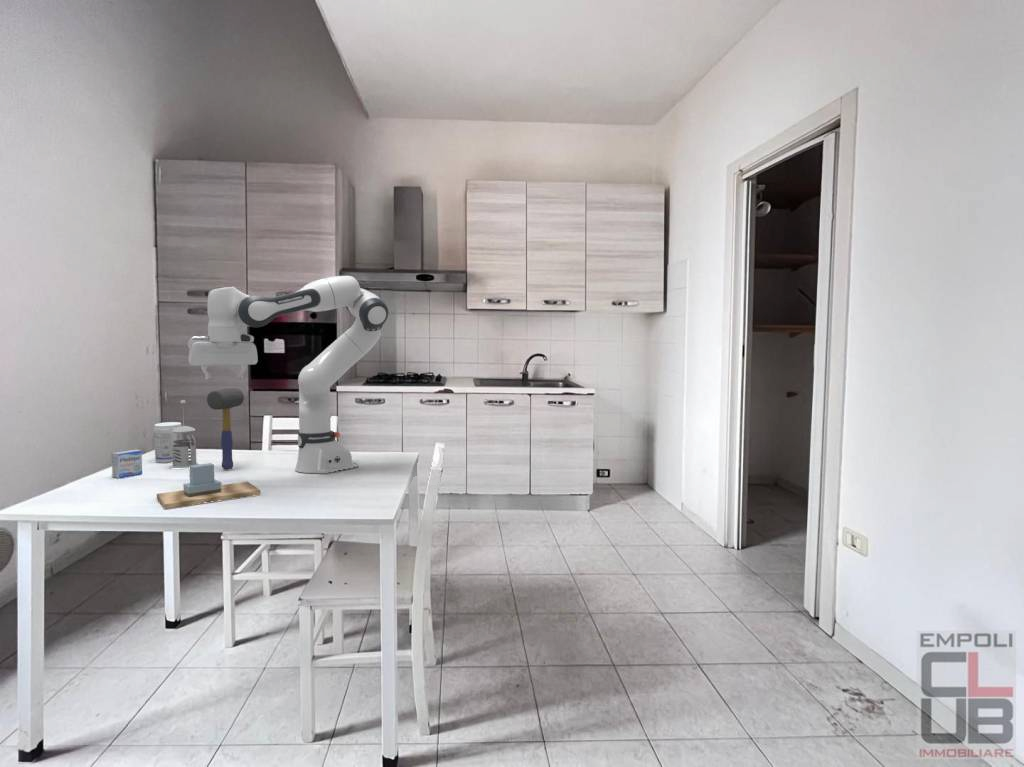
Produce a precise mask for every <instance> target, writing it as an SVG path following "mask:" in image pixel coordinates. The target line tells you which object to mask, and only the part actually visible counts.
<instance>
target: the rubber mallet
mask: <svg viewBox="0 0 1024 767" xmlns="http://www.w3.org/2000/svg"><path fill="white" fill-rule="evenodd" d="M206 397H207V398H206V402H207V404H208V407H209V408H211V409H212V410H216V411H217V410H218V411H219V410H222V430H221V437H220V438H221V440H220V443H221V444H220V446H221V452H222V453H221V457H222V458H221V459H222V460H221V468H222V469H223V470H224V471H230V470H233V467H234V461H233V446H234V445H233V444H234V443H233V442H234V441H233V433H232V432H233V431H232V428H231V409H232V408H235V407H239V406H241V405H242V404H243V402H244V400H245V395H244V393H243V391H242V390H241V389H239V388H236V387H228V388H227V387H224V388H220V389H215V390H212V391H210V392H209V393H208V395H207V396H206ZM229 469H230V470H229Z"/></svg>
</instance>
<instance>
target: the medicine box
mask: <svg viewBox="0 0 1024 767" xmlns="http://www.w3.org/2000/svg"><path fill="white" fill-rule="evenodd" d="M142 451H143V450H140V449H130V450H122V451H116V452H111V472H112V473H111V475H112V477H113V478H116V479H119V478H120V479H125V477H126V478H131V477H135V475H136V476H141V475H140V474H142V475H143V456H142V455H143V453H142ZM130 476H131V477H130Z"/></svg>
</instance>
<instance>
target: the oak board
mask: <svg viewBox="0 0 1024 767" xmlns="http://www.w3.org/2000/svg"><path fill="white" fill-rule="evenodd" d="M260 494H262V491H261V489H260V488H258V487H256V486H255V485H254V484H253V483H250V482H249V481H241V482H235V483H234V482H233V483H225V484H221V492H217V493H211V494H205V495H199V496H193V497H188V496H187V495H185V494H184V489H182V490H176V491H174V490H173V491H168V492H162V493H161V492H160V493H156V500H157V499H158V500H159V501H158V500H157V501H158V503H160V505H161V504H162V505H161V506H162V507H163V508H164V510H169V509H170V510H171V508H172V509H176V508H177V507H178V508H183V507H182V506H185V507H188V506H187V505H191V506H193V505H192V504H198V505H200V504H199V503H204V502H211V501H218V500H224V501H226V500H225V499H231V500H233V499H232V498H238V499H241V498H240V497H244V498H248V497H247V496H251V497H254V496H253V495H257V496H261V495H260ZM218 502H219V501H218ZM211 503H212V502H211Z"/></svg>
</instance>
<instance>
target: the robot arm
mask: <svg viewBox="0 0 1024 767" xmlns="http://www.w3.org/2000/svg"><path fill="white" fill-rule="evenodd" d="M343 307H345V308H346V309H347V311H348V312H349V313H350V314H351V315H352V316H353V317H354V318H355V320H354V322H353V324H351V327H350V328H349V327H348V329H347V330H346V331H344V332H343V333H342V334H341V335H340V336H339V337H338V338H336V339H335V340H334V341H333V342H332V343H330V345H328V346H327V347H326V348H325V349H323V351H322V352H321V353H320V354H318V355H317V356H316V357H315V358H314V359H313V360H312V361H311V362H309V364H306V365H305V366H304V367H302V369H301V371H300V372H299V375H298V378H297V383H298V402H299V403H298V432H297V446H298V455H297V461H296V464H295V471H296V472H298V473H304V474H306V473H307V474H308V473H309V474H329V472H330V473H335V472H334V471H336V472H339V471H338V470H341V471H344V470H343V469H346V470H349V469H348V468H351V469H354V468H353V467H356V468H358V467H359V464H358V462H357V461H355V460H353V459H352V453H351V451H350V449H349V448H347V447H346V446H344V445H343V444H341V443H340V442H339V441H337V440H336V438H337V439H338V438H339V439H340V437H341V433H340V431H339V432H338V431H333V430H331V428H332V427H331V422H332V421H331V387H332V386H333V385H334V384H335V383H336V382H337V381H338V380H340V379H341V377H342V376H344V374H346V372H348V371H349V370H350V368H352V367H353V366H354V365H355V364H356V363H358V362H359V360H360V359H362V358H363V357H364V356H365V355H366V354H368V352H369V351H370V350H371V349H372V348H373V347H374V346H376V344H377V343H378V341H379V340H380V338H381V337H382V331H381V329H382V328H383V326H384V324H385V323H386V321H387V319H388V317H389V312H390V311H389V308H388V306H387V304H386V303H385V301H383V299H381V298H380V297H379V296H378V295H377V294H375V293H373V292H371V291H369V290H368V289H367V288H365V287H361V286H360V284H359V281H358V280H357V279H356V278H355V277H354V276H352V275H337V276H336V275H334V276H330V277H324V278H321V279H317V280H313V281H311V282H309V283H307V284H305V285H303V287H302V288H300V289H298V290H297V291H293V292H290V293H285V294H280V295H276V296H268V297H267V296H262V295H256V294H255V295H248V294H246V293H244V292H243V291H240V290H239V289H237V288H236V287H235V286H232V285H224V286H218V287H214V288H212V289H211V290H210V291H208V296H207V316H208V319H209V320H208V325H207V335H205V336H204V335H203V336H202V335H201V336H199V335H198V336H194V335H193V336H192V337H190V338H188V340H187V347H188V348H187V349H188V350H189V351H188V352H189V353H188V363H189V364H190V365H191V366H201V368H200V369H201V370H202V372H203V374H204V375H205V377H204V378H205V380H206V381H208V380H213V378H212V373H209V372H208V370H207V369H208V366H233V365H234V366H239V367H240V371H239V372H236V379H237V380H238V379H239V380H240V379H244V373H245V371H246V370H247V366H248V365H249V366H250V365H251V366H252V365H253V366H254V365H257V363H258V361H259V360H258V359H259V358H258V357H259V356H258V350H257V346H256V344H255V343H254V340H255V337H254V336H253V335H251V334H248V333H245V332H241V331H239V325H244V326H246V327H251V328H261V327H264V326H267V325H268V324H270V323H271V322H272V321H273V320H274V319H276V318H278V317H282V316H285V315H289V314H293V313H296V312H301V311H310V312H313V313H314V312H315V313H317V312H318V313H319V312H327V311H332V310H335V309H340V308H343ZM357 466H358V467H357Z"/></svg>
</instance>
